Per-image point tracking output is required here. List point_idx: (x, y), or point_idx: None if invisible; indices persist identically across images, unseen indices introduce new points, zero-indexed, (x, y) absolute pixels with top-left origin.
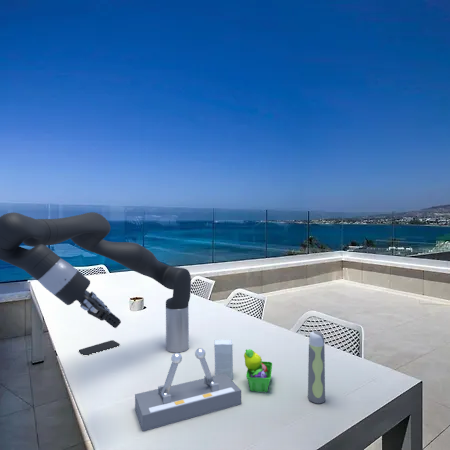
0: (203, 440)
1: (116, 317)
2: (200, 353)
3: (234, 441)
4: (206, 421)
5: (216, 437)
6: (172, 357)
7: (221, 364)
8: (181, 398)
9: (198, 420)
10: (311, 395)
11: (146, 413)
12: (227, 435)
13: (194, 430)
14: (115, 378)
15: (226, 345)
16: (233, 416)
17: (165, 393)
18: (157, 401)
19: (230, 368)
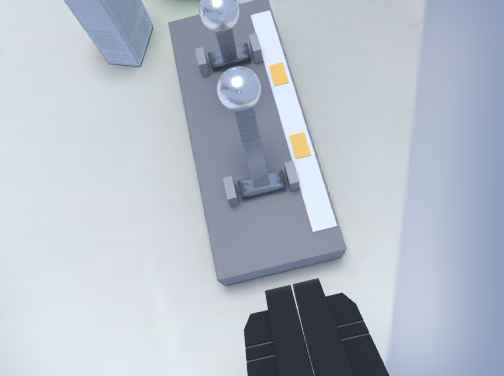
0: (395, 116)
1: (320, 319)
2: (235, 4)
3: (406, 56)
4: (325, 104)
5: (388, 89)
6: (246, 98)
7: (128, 19)
8: (275, 141)
9: (317, 121)
10: None
11: (336, 237)
12: (384, 66)
13: (356, 132)
14: (15, 371)
15: None
16: (316, 46)
17: (273, 177)
18: (276, 207)
19: (140, 7)
